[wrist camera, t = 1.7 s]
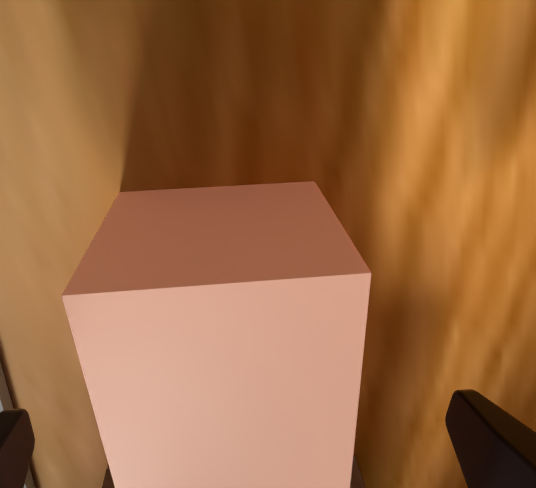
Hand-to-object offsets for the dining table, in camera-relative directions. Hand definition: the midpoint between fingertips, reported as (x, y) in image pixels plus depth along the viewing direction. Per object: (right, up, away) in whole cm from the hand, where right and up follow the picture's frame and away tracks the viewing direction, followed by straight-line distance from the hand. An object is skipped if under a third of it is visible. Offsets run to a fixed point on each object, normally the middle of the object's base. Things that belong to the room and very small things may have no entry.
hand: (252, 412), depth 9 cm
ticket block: (-1, -2, +6) cm, 7 cm away
